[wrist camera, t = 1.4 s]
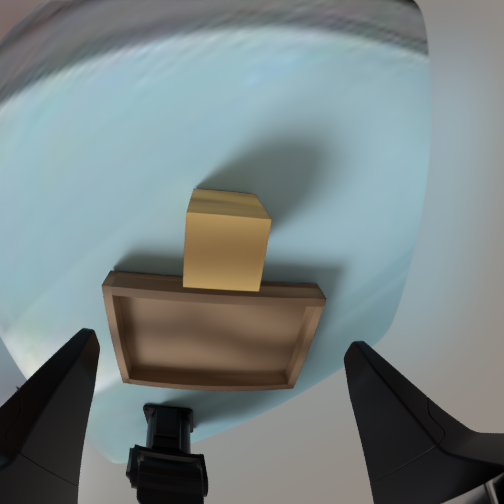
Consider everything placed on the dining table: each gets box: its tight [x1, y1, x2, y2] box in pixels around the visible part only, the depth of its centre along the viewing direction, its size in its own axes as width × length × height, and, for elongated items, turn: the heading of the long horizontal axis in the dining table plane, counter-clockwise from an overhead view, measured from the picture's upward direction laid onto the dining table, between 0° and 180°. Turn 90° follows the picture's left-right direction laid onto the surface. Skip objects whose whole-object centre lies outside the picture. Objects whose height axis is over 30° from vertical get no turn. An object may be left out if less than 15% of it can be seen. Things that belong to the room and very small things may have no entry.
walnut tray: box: [102, 270, 326, 391], centre depth 24 cm, size 12×18×2 cm, turn 82°
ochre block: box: [183, 189, 272, 291], centre depth 18 cm, size 4×4×6 cm
